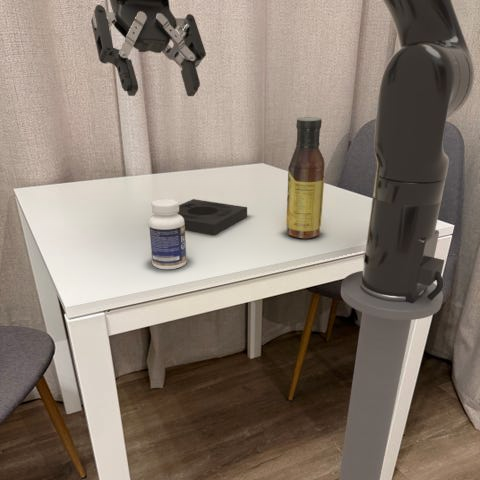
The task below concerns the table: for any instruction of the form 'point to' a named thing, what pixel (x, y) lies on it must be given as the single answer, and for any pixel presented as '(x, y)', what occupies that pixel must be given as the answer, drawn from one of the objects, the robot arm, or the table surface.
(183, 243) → the pill bottle
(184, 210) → the dock pad
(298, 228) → the sauce bottle
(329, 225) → the table surface
